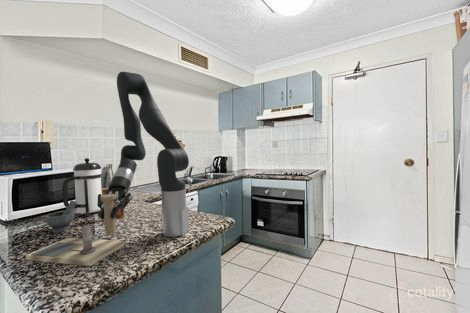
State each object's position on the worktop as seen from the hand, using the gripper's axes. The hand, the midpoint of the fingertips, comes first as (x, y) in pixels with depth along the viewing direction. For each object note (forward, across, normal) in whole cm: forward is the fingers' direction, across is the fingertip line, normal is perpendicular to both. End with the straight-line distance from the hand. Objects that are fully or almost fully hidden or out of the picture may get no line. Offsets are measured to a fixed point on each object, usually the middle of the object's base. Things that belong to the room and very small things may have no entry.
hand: (106, 217), depth 83 cm
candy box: (-13, -13, +25) cm, 31 cm away
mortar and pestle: (-3, -28, +15) cm, 32 cm away
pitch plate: (+13, -4, -1) cm, 13 cm away
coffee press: (-19, -32, +30) cm, 48 cm away
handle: (+4, 0, +6) cm, 7 cm away
